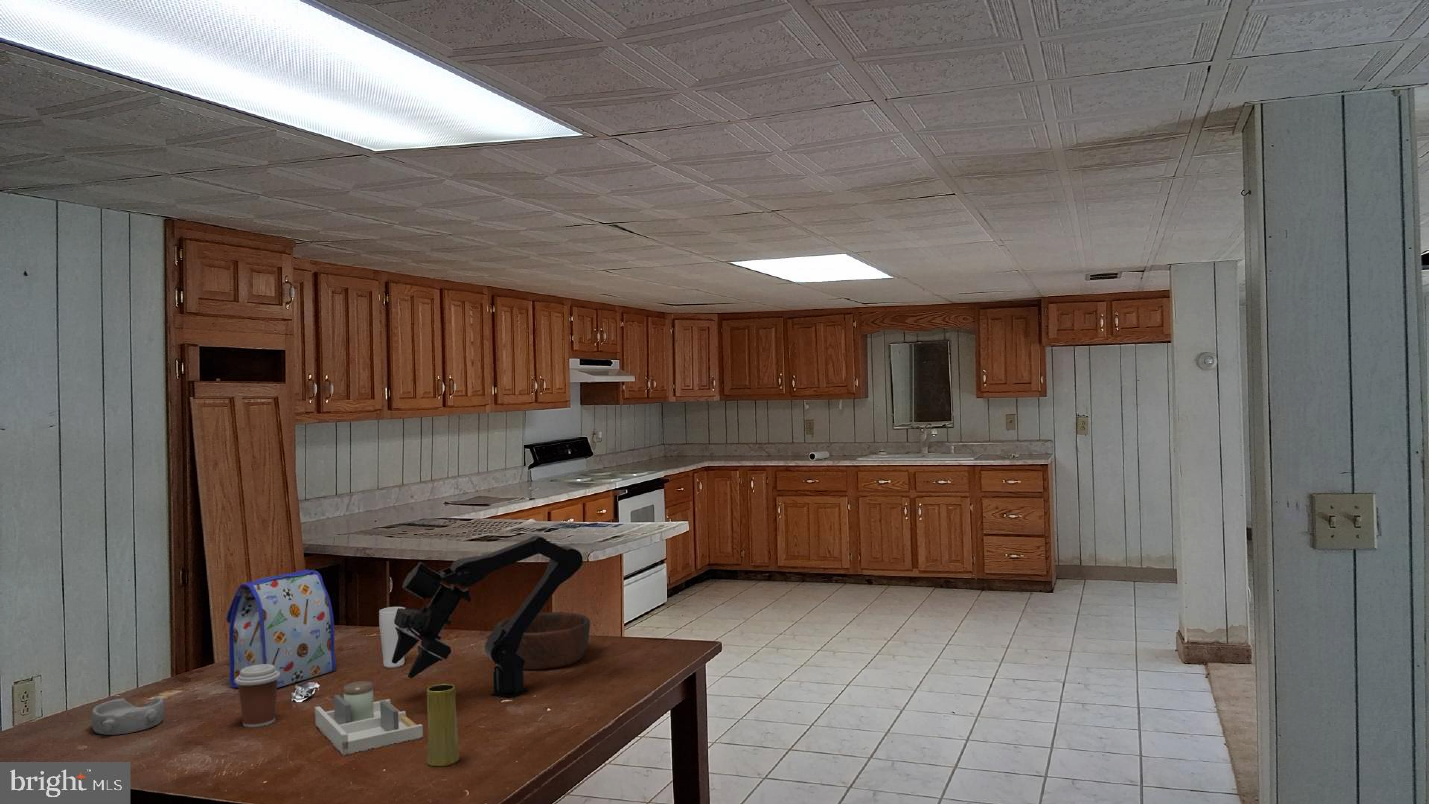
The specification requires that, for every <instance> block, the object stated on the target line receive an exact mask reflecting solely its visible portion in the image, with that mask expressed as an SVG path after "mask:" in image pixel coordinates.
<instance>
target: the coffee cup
mask: <svg viewBox="0 0 1429 804" xmlns="http://www.w3.org/2000/svg"><path fill="white" fill-rule="evenodd" d="M279 678H280V672H278V671H277V670H275V666H274V665H270V664H261V665H253V666H249V667H245V668H243V669H242V670H241V671H240V674H239V676H238V677H236V679H235V683H236V684H237V685H239V688H238V691H239V692H238V693H239V700H240V708H241V709H240V710H241V715H242V716H241V717H242V718H241V719H242V725H243V727H245V728H259V727H265V726H268V725H271V724H273V723H275V722H276V710H277V709H276V707H277V691H278V688H277V679H279ZM272 722H273V723H272ZM264 725H265V726H264Z"/></svg>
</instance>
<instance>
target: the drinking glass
mask: <svg viewBox="0 0 1429 804" xmlns="http://www.w3.org/2000/svg"><path fill="white" fill-rule="evenodd" d="M398 608H402V609H406V607H404V606H389V607H385V608H382V609H379V612H378V616H379V617H378V622H379V624H378V625H379V626H378V627H379V632H380V633H379V635H380V642H381V650H382V658H383V667H384V668H388V669H389V668H391V669H394V668H400V667H402V666H403V665H404V664H405V656H404V657H403V658H402V659H401V660H400V661H398V662H397V663H396V664H394V663H392V658H393V655H394V651H395V648H396V645H397V641H398V634H397V631H396V629H395V627H397V628H399V627H398V626H397V625H395V624H394V620H395V616H396V613H397V609H398Z"/></svg>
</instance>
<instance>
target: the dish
mask: <svg viewBox="0 0 1429 804" xmlns="http://www.w3.org/2000/svg"><path fill="white" fill-rule="evenodd" d="M164 713H165V704H164V699H163V697H160V696H155V697H154V698H153V699H152V701H151V702H150V703H149V704H148V705H145V706H135V705H133V704H131V703H130V702H128V701H127V700H126V699H125V698H117V699H112V700H109V701H108V700H107V701H106V702H101V703H100V704H98V705H96V706H95V707H93V709H92V711H91V718H90V719H91V727H92V729H93V731H94V733H97V734H101V735H108V736H109V735H110V736H113V735H125V734H130V733H134V732H140V731H143V730H147V729H150V728H152V727H155V726H157V725H159V724H160V723H161V722H163V718H164Z"/></svg>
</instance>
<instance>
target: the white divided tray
mask: <svg viewBox="0 0 1429 804" xmlns="http://www.w3.org/2000/svg"><path fill="white" fill-rule="evenodd" d="M373 705H374V718H369V719H364V720H360V721H355V722H350V723H345V724H341V725H339V724H338V723H337V722H336V721H335V712H334V709H333V710H328V711H325V710H324V709H323V708H322V707H321V706H315V707H314V723H315V724H314V725H316V726H317V727H318V728H319V729H320V730H319V729H318V728H317V727H316V726H315V727H316V728H317V729H318V730H319V731H320V732H321V731H322V732H321V734H322V735H324V737H325V736H326V737H327V738H328V739H329V740H330V741H331V742H330V741H329V740H328V739H327V738H326V737H325V738H326V739H327V740H328V741H329V742H330V743H331V744H332V743H333V744H332V745H333V747H335V748H336V749H337V751H338V750H339V751H340V752H341V753H340V752H339V751H338V752H339V753H340V754H341V755H342V754H343V755H342V756H347V755H346V754H348V755H351V754H356V753H355V752H357V753H360V752H359V751H361V752H365V751H369V750H368V749H370V750H372V749H371V748H374V749H377V748H378V749H379V748H381V747H382V746H383V747H386V746H391V745H395V744H394V743H396V744H399V743H405V742H409V741H413V740H418V739H421V737H422V738H424V730H423V724H420V723H419V724H416V723H415V722H414V721H413V720H411V719H410V718H409V717H407V714H406V713H407V712H406V710H402V711H400V710H399V709H397V708H396V706H394V705H393V704H391V699H390V698H388V699H387V698H386V699H384V700H383V699H381V700H378V701H373ZM408 740H409V741H408ZM404 741H405V742H404ZM390 744H391V745H390Z"/></svg>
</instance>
